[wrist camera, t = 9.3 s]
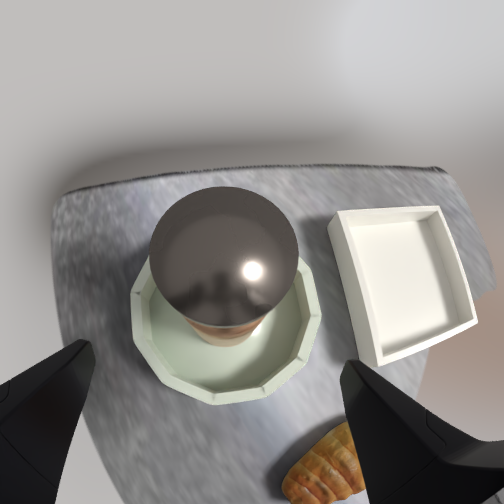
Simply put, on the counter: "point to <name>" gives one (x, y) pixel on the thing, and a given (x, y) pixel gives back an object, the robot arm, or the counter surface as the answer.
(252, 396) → the bowl
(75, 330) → the counter surface
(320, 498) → the pastry
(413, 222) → the tray
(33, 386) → the robot arm
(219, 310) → the canister
